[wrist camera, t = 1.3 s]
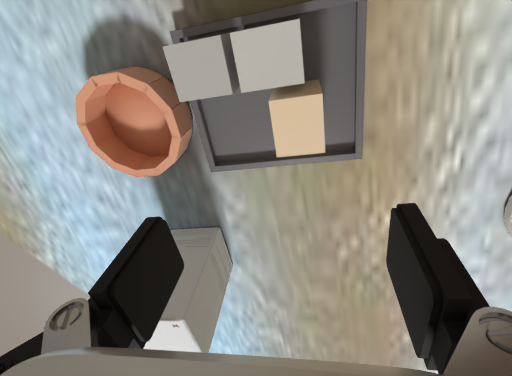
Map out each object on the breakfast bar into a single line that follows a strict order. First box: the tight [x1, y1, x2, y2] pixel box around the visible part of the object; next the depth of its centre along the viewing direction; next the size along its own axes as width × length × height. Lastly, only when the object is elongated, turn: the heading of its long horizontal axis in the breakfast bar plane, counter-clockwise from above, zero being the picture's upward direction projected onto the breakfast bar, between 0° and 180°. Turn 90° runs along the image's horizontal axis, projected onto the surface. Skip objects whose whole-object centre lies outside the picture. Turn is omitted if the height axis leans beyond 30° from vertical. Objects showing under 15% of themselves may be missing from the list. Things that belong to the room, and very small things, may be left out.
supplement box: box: [143, 227, 233, 353], centre depth 31 cm, size 7×7×13 cm
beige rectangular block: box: [268, 79, 325, 157], centre depth 22 cm, size 4×4×5 cm
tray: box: [170, 0, 367, 172], centre depth 24 cm, size 15×13×1 cm
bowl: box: [76, 66, 193, 177], centre depth 26 cm, size 10×10×4 cm
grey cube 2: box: [163, 31, 240, 102], centre depth 21 cm, size 4×4×5 cm
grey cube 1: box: [230, 18, 305, 93], centre depth 20 cm, size 4×4×5 cm
